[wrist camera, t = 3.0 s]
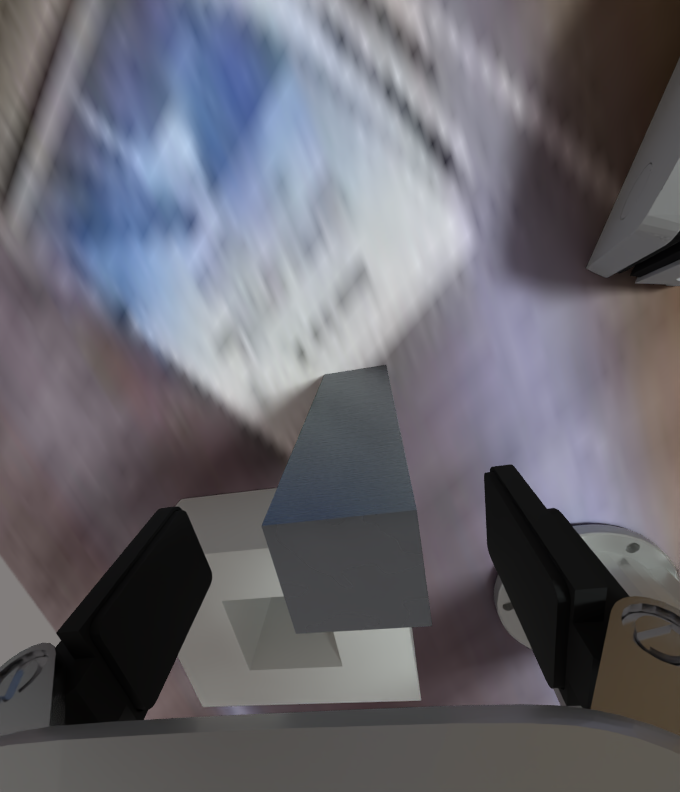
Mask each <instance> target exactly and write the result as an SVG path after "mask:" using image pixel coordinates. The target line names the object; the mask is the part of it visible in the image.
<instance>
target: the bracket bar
mask: <svg viewBox="0 0 680 792" xmlns="http://www.w3.org/2000/svg"><path fill="white" fill-rule="evenodd" d="M262 530H263V533H264V536H265V539H266V542H267V545H268V548H269V551H270V555H271V558H272V561H273V564H274V567H275V570H276V573H277V576H278V580H279V583H280V586H281V589H282V592H283V595H284V598H285V601H286V605H287V608H288V611H289V614H290V617H291V620H292V623H293V626H294V630H295V633H296V634H303V633H321V632H338V631H356V630H373V629H391V628H408V627H426V626H432V621H431V614H430V606H429V599H428V591H427V584H426V576H425V569H424V561H423V554H422V547H421V539H420V532H419V524H418V517H417V510H416V505H415V500H414V495H413V490H412V486H411V481H410V476H409V471H408V467H407V462H406V457H405V452H404V447H403V443H402V438H401V433H400V428H399V424H398V419H397V414H396V409H395V405H394V400H393V395H392V390H391V385H390V381H389V376H388V371H387V366H386V365H382V366H376V367H370V368H363V369H357V370H351V371H345V372H338V373H332V374H326V375H324V377H323V380H322V382H321V384H320V387H319V389H318V391H317V394H316V396H315V399H314V401H313V403H312V406H311V408H310V411H309V413H308V415H307V418H306V420H305V423H304V425H303V427H302V430H301V432H300V435H299V437H298V439H297V442H296V444H295V447H294V449H293V451H292V454H291V456H290V458H289V461H288V463H287V466H286V468H285V470H284V473H283V475H282V478H281V480H280V482H279V485H278V487H277V490H276V492H275V494H274V497H273V499H272V502H271V504H270V506H269V509H268V511H267V514H266V516H265V518H264V521H263V523H262Z"/></svg>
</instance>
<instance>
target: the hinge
mask: <svg viewBox="0 0 680 792" xmlns="http://www.w3.org/2000/svg"><path fill="white" fill-rule="evenodd" d="M633 266H634V268H633V270H632V273H631V276H636V277H637V279H636V281H635V283H640V284H666V286H680V58H679V60H678V62H677V65H676V67H675V69H674V71H673V74H672V76H671V78H670V80H669V83H668V85H667V87H666V89H665V91H664V94H663V96H662V98H661V100H660V103H659V105H658V107H657V109H656V112H655V114H654V116H653V118H652V121H651V123H650V125H649V127H648V130H647V132H646V134H645V136H644V139H643V141H642V143H641V145H640V148H639V150H638V152H637V154H636V157H635V159H634V161H633V163H632V166H631V168H630V170H629V172H628V175H627V177H626V179H625V181H624V184H623V186H622V188H621V190H620V193H619V195H618V197H617V199H616V202H615V204H614V206H613V208H612V211H611V213H610V215H609V217H608V220H607V222H606V224H605V226H604V229H603V231H602V233H601V235H600V238H599V240H598V242H597V244H596V247H595V249H594V251H593V253H592V256H591V258H590V260H589V262H588V265H587V267H586V269H588V270H590V271H592V272H594V273H596V274H598V275H601V276H603V277H605V278H608V277H609V276H611V275H613V274H615V273H622V272H624V271H626V270H628V269H630V268H631V267H633Z"/></svg>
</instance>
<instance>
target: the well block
mask: <svg viewBox="0 0 680 792" xmlns="http://www.w3.org/2000/svg"><path fill="white" fill-rule="evenodd" d="M276 490H277V488H272V489H264V490H255V491H247V492H238V493H230V494H221V495H212V496H204V497H195V498H187V499H181V500H180V501H179V502H178V504H177V505H176V506H177V507H180V508H181V509H182V510H184V511H186V512H187V514H188V517H189V519H190V521H191V524H192V526H193V528H194V531H195V533H196V535H197V538H198V540H199V543H200V545H201V547H202V550H203V552H204V554H205V557H206V559H207V561H208V564H209V566H210V569H211V571H212V582H211V585H210V587H209V589H208V591H207V594H206V596H205V598H204V600H203V602H202V604H201V607H200V609H199V611H198V613H197V615H196V617H195V619H194V622H193V624H192V626H191V628H190V630H189V632H188V634H187V637H186V639H185V641H184V643H183V645H182V647H181V649H180V652H179V654H178V658H179V660H180V662H181V664H182V666H183V668H184V670H185V672H186V674H187V676H188V678H189V680H190V682H191V684H192V686H193V688H194V691H195V693H196V695H197V697H198V699H199V701H200V703H201V705H202V707H217V706H252V705H286V704H320V703H355V702H389V701H421V694H420V687H419V679H418V671H417V663H416V655H415V647H414V639H413V631H412V627H408V628H391V629H373V630H356V631H338V632H321V633H303V634H296V633H295V630H294V626H293V623H292V620H291V617H290V614H289V611H288V608H287V605H286V601H285V598H284V595H283V592H282V589H281V586H280V583H279V580H278V576H277V573H276V570H275V567H274V564H273V561H272V558H271V555H270V551H269V548H268V545H267V542H266V539H265V536H264V533H263V530H262V523H263V521H264V518H265V516H266V514H267V511H268V509H269V506H270V504H271V502H272V499H273V497H274V494H275V492H276ZM176 506H175V507H176Z"/></svg>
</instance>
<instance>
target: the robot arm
mask: <svg viewBox="0 0 680 792" xmlns="http://www.w3.org/2000/svg"><path fill="white" fill-rule="evenodd" d="M484 484H485V506H486V528H487V546H488V551H489V554H490V557H491V559H492V561H493V564H494V566H495V568H496V570H497V573H498V576H497V579H496V583H495V586H494V603H495V606H496V610H497V613H498V615H499V617H500V620H501V622H502V625H503V626H504V627H505V629H506V630H507V631H508V633H509V634H510V635H511V636H512V637H513V638H514V639H516V640H517V641H518V642H519V643H521V644H523V645H524V646H526V647H528V648H530V649H532V650H533V653H534V655H535V657H536V659H537V661H538V664H539V666H540V668H541V670H542V672H543V675H544V677H545V679H546V681H547V683H548V685H549V686H550V687H551V688H553V689H554V691H555V694H556V696H557V698H558V700H559V702H560V705H561V706H554V705H524V704H513V705H466V706H431V707H406V708H382V709H358V710H334V711H312V712H291V713H270V714H249V715H229V716H208V717H190V718H171V719H153V720H144V718H145V716H146V714H147V711H148V709H150V708H152V707H153V705H154V704H155V703H156V701H157V699H158V697H159V694H160V692H161V690H162V688H163V686H164V684H165V682H166V679H167V677H168V675H169V673H170V671H171V669H172V667H173V664H174V662H175V660H176V658H177V656H178V654H179V652H180V649H181V647H182V645H183V643H184V641H185V639H186V637H187V634H188V632H189V630H190V628H191V626H192V624H193V622H194V619H195V617H196V615H197V613H198V611H199V609H200V607H201V604H202V602H203V600H204V598H205V596H206V594H207V591H208V589H209V587H210V585H211V582H212V571H211V569H210V566H209V564H208V561H207V559H206V557H205V554H204V552H203V550H202V547H201V545H200V543H199V540H198V538H197V535H196V533H195V531H194V528H193V526H192V524H191V521H190V519H189V517H188V514H187V512H186V511H184V510H182V509H181V508H180V507H177V506H176V507H168V508H161V509H159V510H158V511H156V513H155V514H154V515H153V516H152V517H151V519H150V520H149V521H148V522H147V524H146V525H145V526H144V527H143V528H142V530H141V531H140V532H139V533H138V534H137V536H136V537H135V538H134V539H133V540H132V542H131V543H130V544H129V545H128V547H127V548H126V549H125V550H124V551H123V553H122V554H121V555H120V556H119V557H118V559H117V560H116V561H115V562H114V564H113V565H112V566H111V567H110V568H109V570H108V571H107V572H106V573H105V574H104V576H103V577H102V578H101V579H100V580H99V582H98V583H97V584H96V585H95V587H94V588H93V589H92V590H91V591H90V593H89V594H88V595H87V596H86V597H85V599H84V600H83V601H82V602H81V603H80V605H79V606H78V607H77V608H76V610H75V611H74V612H73V613H72V614H71V616H70V617H69V618H68V619H67V620H66V622H65V623H64V624H63V625H62V626H61V628H60V629H59V630H58V631H57V635H58V636H59V638H60V639H61V641H60V643H59V644H58V645H57V646H56V648H55V646H53V645H52V644H51V643H41V644H37V645H34V646H31V647H29V648H28V649H25V650H23V651H21V652H20V653H18V654H17V655H15V656H14V657H12V658H11V659H9V660H8V661H7V662H6V663H5V664H4V665H2V666H1V667H0V792H680V581H679V576H678V573H677V570H676V567H675V566H674V564H673V563H672V562H671V560H670V559H669V557H668V556H667V555H666V554H665V553H664V552H663V551H662V550H661V549H659V548H658V547H657V546H656V545H655V544H654V543H653V542H651V541H650V540H648V539H647V538H645V537H644V536H642V535H641V534H638V533H636V532H633V531H631V530H628V529H625V528H621V527H616V526H611V525H597V524H589V525H578V526H572V525H571V524H570V523H569V522H568V520H567V519H566V518H565V517H564V515H563V514H562V513H561V512H560V511H559V510H557V509H555V508H551V509H547V508H546V507H545V506H544V505H543V503H542V502H541V501H540V499H539V498H538V497H537V496H536V494H535V493H534V492H533V490H532V489H531V488H530V486H529V485H528V484H527V483H526V481H525V480H524V479H523V477H522V476H521V475H520V473H519V472H518V471H517V470H516V468H515V467H514V466H513V465H503V466H495V467H491V469H490V472H488V473H485V474H484Z"/></svg>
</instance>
